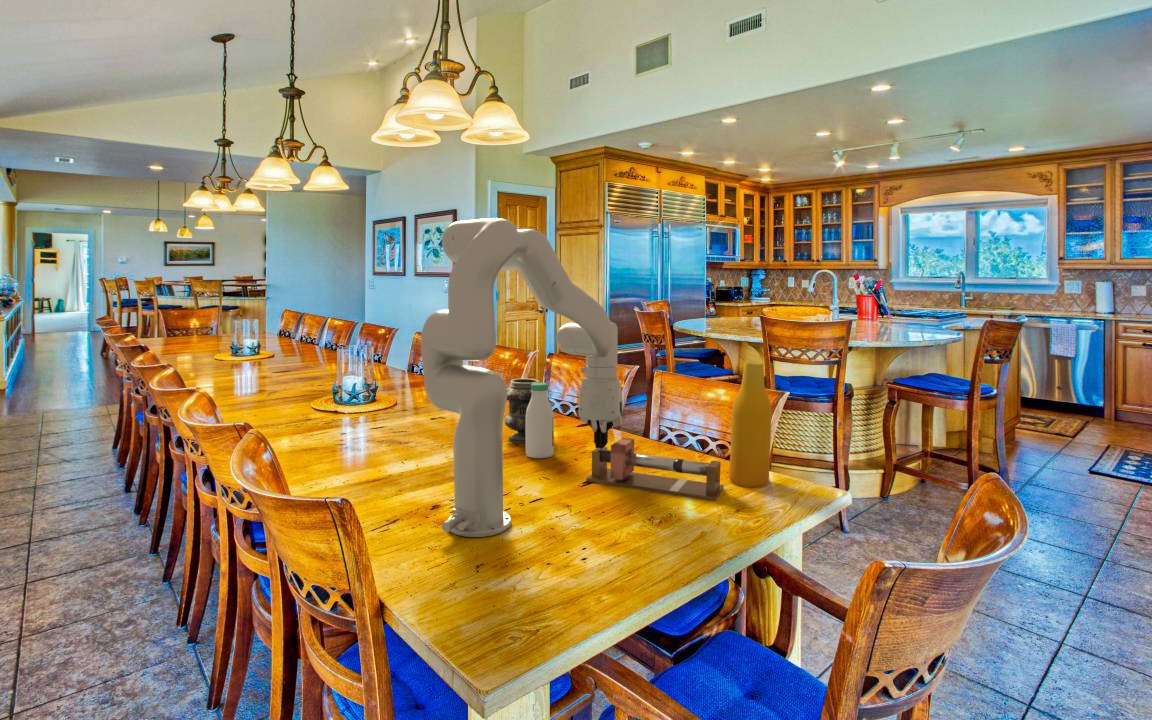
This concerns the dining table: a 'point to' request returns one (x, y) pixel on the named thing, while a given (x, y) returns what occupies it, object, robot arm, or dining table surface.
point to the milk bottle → (539, 423)
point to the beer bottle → (751, 430)
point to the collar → (621, 458)
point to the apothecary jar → (518, 407)
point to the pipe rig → (660, 483)
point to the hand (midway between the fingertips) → (600, 446)
